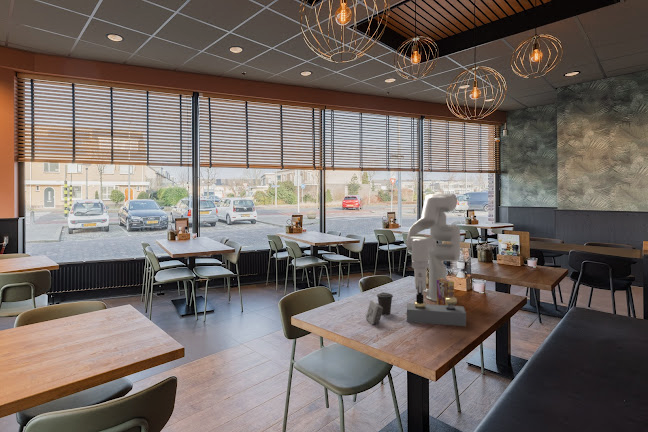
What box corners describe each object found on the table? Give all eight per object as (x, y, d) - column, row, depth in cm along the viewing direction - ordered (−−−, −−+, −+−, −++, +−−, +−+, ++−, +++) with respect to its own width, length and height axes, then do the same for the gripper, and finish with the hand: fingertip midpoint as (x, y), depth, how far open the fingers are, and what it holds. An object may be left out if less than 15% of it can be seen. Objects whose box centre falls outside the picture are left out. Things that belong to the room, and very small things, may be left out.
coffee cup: (383, 309, 187) (383, 290, 186) (396, 313, 181) (396, 293, 180) (373, 313, 181) (373, 293, 180) (386, 317, 175) (386, 296, 175)
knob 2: (445, 313, 166) (445, 299, 165) (444, 310, 170) (444, 296, 170) (457, 314, 164) (457, 300, 164) (455, 310, 169) (456, 297, 169)
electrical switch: (365, 318, 173) (367, 299, 173) (375, 319, 174) (377, 300, 174) (371, 325, 164) (373, 305, 164) (382, 325, 165) (384, 305, 165)
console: (406, 322, 168) (406, 309, 167) (407, 315, 177) (407, 303, 177) (466, 326, 161) (466, 313, 161) (463, 318, 171) (463, 306, 171)
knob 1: (414, 317, 169) (414, 303, 169) (414, 313, 174) (414, 300, 174) (425, 318, 168) (425, 304, 168) (425, 314, 173) (425, 301, 172)
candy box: (454, 311, 183) (454, 281, 182) (447, 312, 181) (447, 282, 181) (442, 306, 191) (443, 277, 190) (436, 307, 190) (436, 278, 189)
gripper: (428, 267, 161) (428, 307, 162) (427, 262, 176) (427, 298, 177) (411, 267, 163) (411, 306, 164) (411, 261, 178) (411, 298, 179)
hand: (419, 302), depth 170 cm, fingers closed
